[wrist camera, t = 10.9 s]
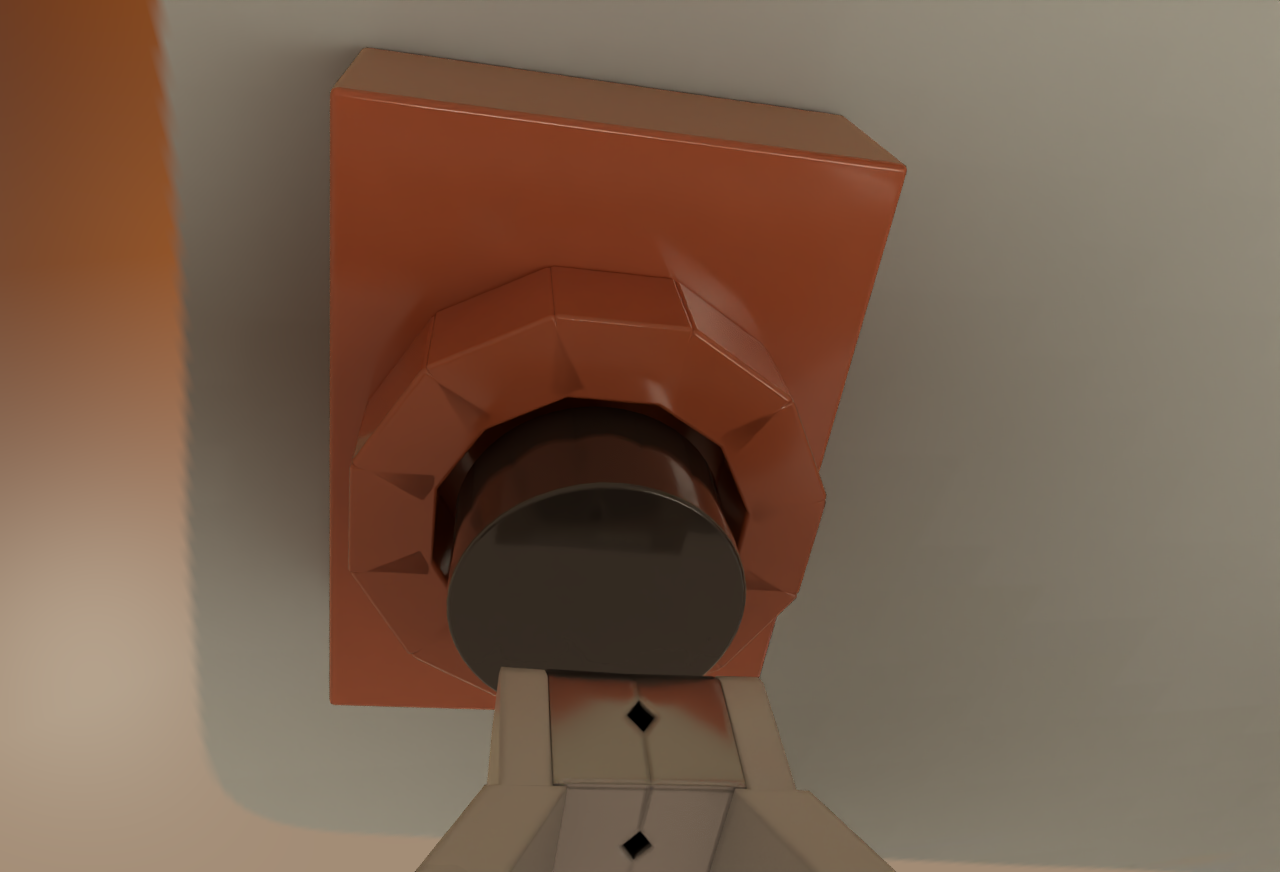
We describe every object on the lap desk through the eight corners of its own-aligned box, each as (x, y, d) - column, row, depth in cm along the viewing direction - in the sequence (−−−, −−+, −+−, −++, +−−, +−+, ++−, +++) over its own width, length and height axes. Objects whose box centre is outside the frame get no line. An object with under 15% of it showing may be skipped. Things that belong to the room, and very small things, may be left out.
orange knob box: (719, 612, 22) (769, 794, 18) (352, 594, 21) (310, 787, 16) (846, 114, 17) (960, 205, 12) (361, 45, 15) (302, 119, 11)
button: (693, 628, 16) (715, 722, 14) (446, 616, 15) (437, 715, 14) (744, 416, 14) (777, 496, 12) (463, 392, 13) (456, 472, 12)
